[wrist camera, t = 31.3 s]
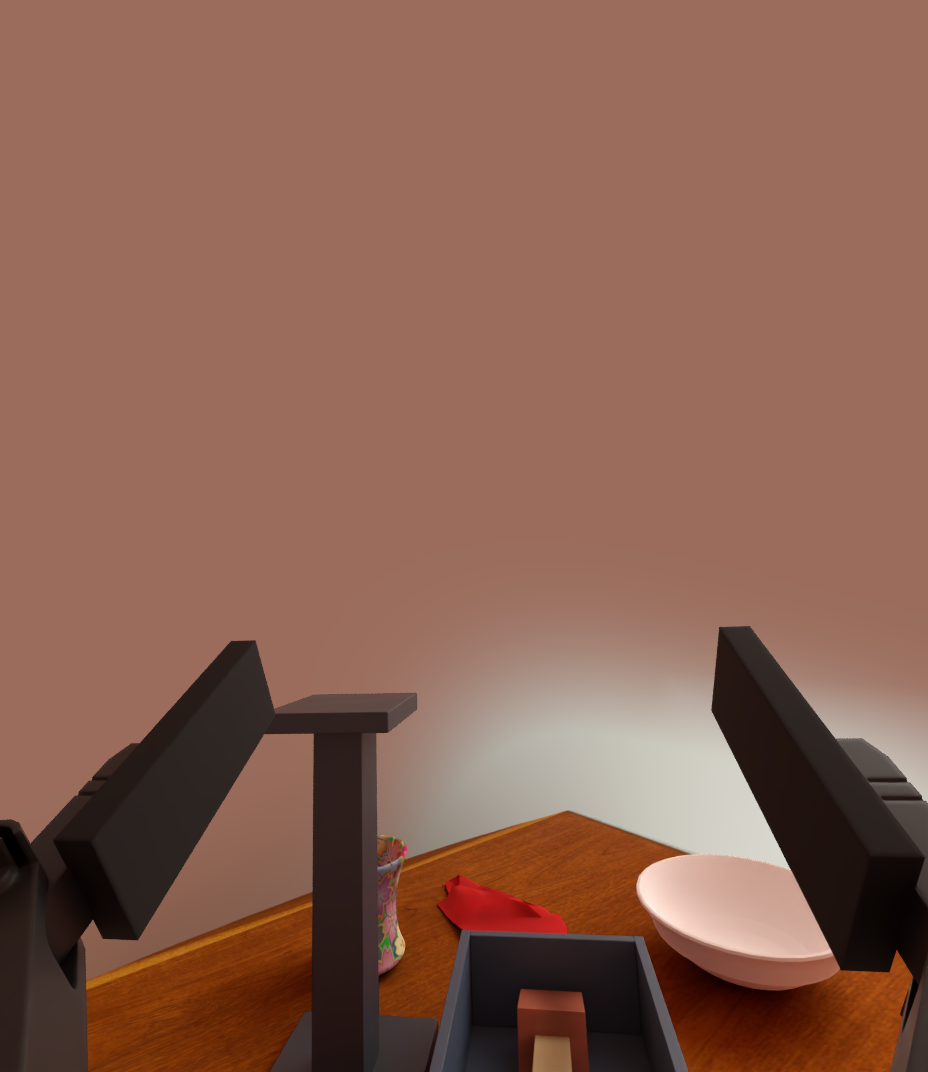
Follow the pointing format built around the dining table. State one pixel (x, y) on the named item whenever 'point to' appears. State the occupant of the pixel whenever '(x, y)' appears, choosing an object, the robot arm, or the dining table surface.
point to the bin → (559, 965)
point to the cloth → (495, 910)
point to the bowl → (737, 920)
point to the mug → (389, 901)
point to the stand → (348, 894)
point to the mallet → (551, 1031)
